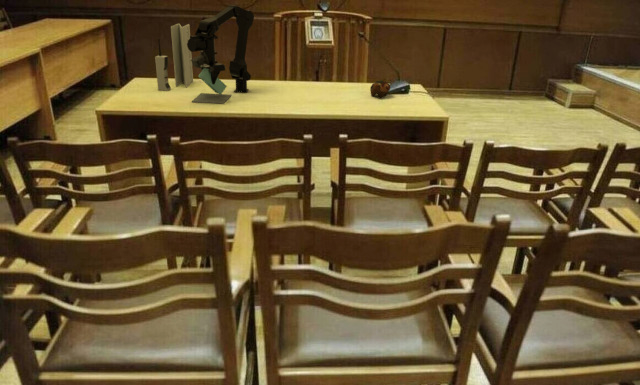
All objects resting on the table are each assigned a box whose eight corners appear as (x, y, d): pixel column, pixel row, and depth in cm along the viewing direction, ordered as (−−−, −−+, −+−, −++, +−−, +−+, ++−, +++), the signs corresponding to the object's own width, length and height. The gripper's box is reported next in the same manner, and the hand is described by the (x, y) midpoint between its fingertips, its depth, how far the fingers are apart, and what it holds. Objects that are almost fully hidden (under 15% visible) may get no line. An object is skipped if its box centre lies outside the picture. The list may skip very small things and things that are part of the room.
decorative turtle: (365, 98, 254) (366, 82, 250) (375, 92, 266) (376, 77, 263) (383, 100, 250) (385, 84, 247) (392, 94, 263) (394, 79, 259)
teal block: (215, 92, 244) (198, 76, 235) (221, 84, 244) (204, 67, 235) (220, 94, 240) (203, 78, 231) (226, 86, 241) (209, 69, 232)
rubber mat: (201, 94, 248) (201, 93, 247) (231, 95, 247) (231, 94, 247) (191, 102, 233) (191, 101, 233) (223, 104, 232) (223, 102, 232)
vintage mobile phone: (167, 91, 250) (162, 39, 240) (158, 90, 251) (153, 38, 241) (170, 89, 254) (166, 38, 243) (161, 88, 254) (156, 37, 244)
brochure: (186, 87, 258) (181, 27, 246) (175, 87, 258) (170, 26, 246) (193, 81, 271) (189, 24, 259) (183, 81, 271) (178, 23, 259)
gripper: (183, 47, 232) (185, 81, 239) (203, 53, 220) (205, 89, 226) (204, 46, 239) (206, 78, 245) (225, 51, 226) (226, 86, 233)
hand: (210, 83), depth 237 cm, fingers closed on teal block, 5 cm apart
